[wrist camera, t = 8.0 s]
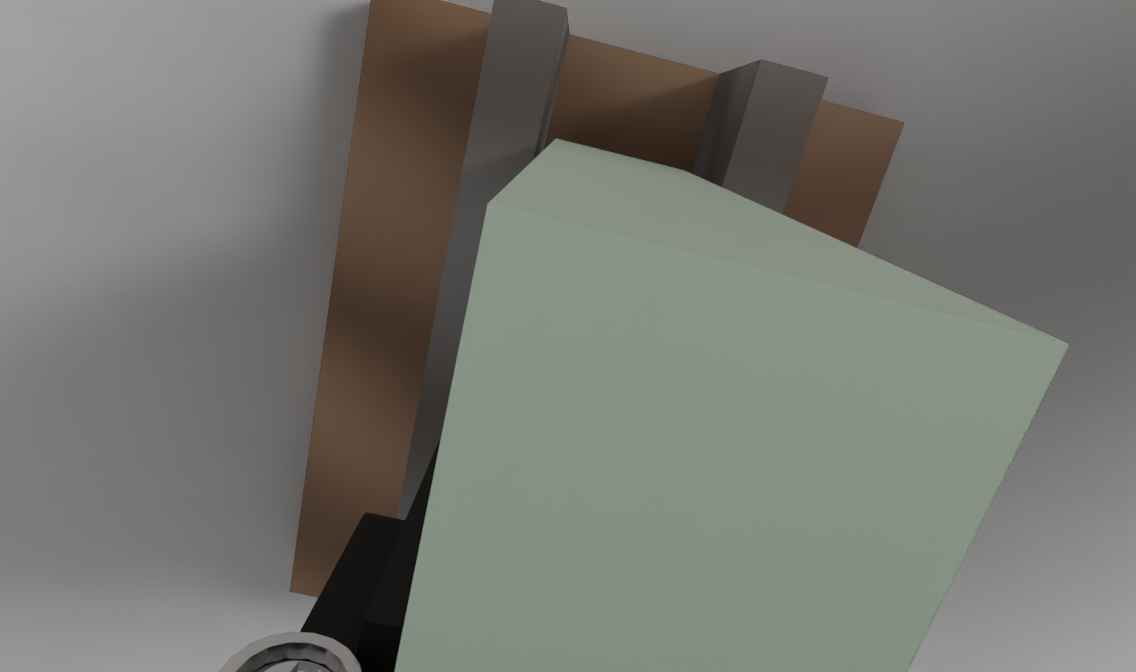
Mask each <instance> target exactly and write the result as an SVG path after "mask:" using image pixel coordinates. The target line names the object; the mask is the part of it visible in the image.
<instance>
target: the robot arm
mask: <svg viewBox="0 0 1136 672" xmlns="http://www.w3.org/2000/svg"><path fill="white" fill-rule="evenodd" d="M439 445H440V441H439V442H438V444H437V447H436V449H435V451H434V454H433V456H432V458H431V461H430V463H429V465H428V468H427V470H426V472H425V475H424V477H423V480H422V482H421V484H420V487H419V489H418V491H417V494H416V496H415V498H414V501H413V503H412V505H411V508H410V510H409V512H408V515H407V517H406V520H401V519H397V518H392V517H387V516H383V515H378V514H373V513H368V512H367V513H365V514H364V515H363V517H362V518H361V520H360V521H359V523H358V525H357V527H356V529H355V531H354V533H353V534H352V536H351V538H350V540H349V542H348V544H347V546H346V547H345V549H344V551H343V553H342V555H341V557H340V559H339V560H338V562H337V564H336V566H335V568H334V570H333V572H332V573H331V575H330V577H329V579H328V581H327V583H326V585H325V586H324V588H323V590H322V592H321V594H320V596H319V598H318V599H317V601H316V603H315V605H314V607H313V609H312V611H311V612H310V614H309V616H308V618H307V620H306V622H305V624H304V625H303V627H302V629H301V631H300V632H288V633H282V634H277V635H271V636H268V637H266V638H263V639H261V640H258V641H256V642H253V643H251V644H249V645H248V646H246V647H245V648H243V649H242V650H240V651H239V652H238V653H236V654H235V655H233V656H232V657H231V658H230V659H229V661H228V662H227V663H226V664H225V665H224V667H223V668H222V669H221V670H220V672H394V671H395V666H396V661H397V656H398V651H399V646H400V641H401V636H402V631H403V626H404V621H405V616H406V611H407V606H408V601H409V596H410V591H411V586H412V581H413V576H414V571H415V566H416V561H417V556H418V551H419V546H420V541H421V536H422V531H423V526H424V521H425V516H426V511H427V506H428V501H429V495H430V490H431V485H432V480H433V475H434V470H435V465H436V460H437V455H438V450H439Z"/></svg>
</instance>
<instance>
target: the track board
mask: <svg viewBox="0 0 1136 672" xmlns="http://www.w3.org/2000/svg"><path fill="white" fill-rule="evenodd" d="M827 80H828V77H825V76H821V75H817V74H814V73H810V72H806V71H802V70H799V69H795V68H791V67H787V66H783V65H780V64H776V63H772V62H768V61H765V60H759V61H756V62H753V63H750V64H747V65H744V66H741V67H738V68H736V69H733V70H730V71H727V72H724V73H721V74H718V73H714V72H711V71H707V70H703V69H699V68H695V67H692V66H688V65H684V64H680V63H676V62H672V61H669V60H665V59H661V58H657V57H653V56H650V55H646V54H642V53H638V52H634V51H631V50H627V49H623V48H619V47H615V46H612V45H608V44H604V43H600V42H596V41H592V40H589V39H585V38H581V37H577V36H573V35H570V34H569V25H568V16H567V8H564V7H561V6H557V5H553V4H549V3H546V2H542V1H538V0H494V4H493V10H492V14H490V13H486V12H482V11H478V10H474V9H471V8H467V7H463V6H459V5H455V4H452V3H448V2H444V1H440V0H371V4H370V12H369V19H368V26H367V34H366V41H365V48H364V55H363V63H362V70H361V77H360V84H359V92H358V99H357V106H356V114H355V121H354V128H353V135H352V143H351V150H350V157H349V165H348V172H347V179H346V186H345V194H344V201H343V208H342V216H341V223H340V230H339V237H338V245H337V252H336V259H335V266H334V274H333V281H332V288H331V296H330V303H329V310H328V317H327V325H326V332H325V339H324V347H323V354H322V361H321V368H320V376H319V383H318V390H317V398H316V405H315V412H314V419H313V427H312V434H311V441H310V449H309V456H308V463H307V470H306V478H305V485H304V492H303V499H302V507H301V514H300V521H299V529H298V536H297V543H296V550H295V558H294V565H293V572H292V580H291V587H290V592H295V593H300V594H304V595H309V596H314V597H319V596H320V594H321V592H322V590H323V588H324V586H325V585H326V583H327V581H328V579H329V577H330V575H331V573H332V572H333V570H334V568H335V566H336V564H337V562H338V560H339V559H340V557H341V555H342V553H343V551H344V549H345V547H346V546H347V544H348V542H349V540H350V538H351V536H352V534H353V533H354V531H355V529H356V527H357V525H358V523H359V521H360V520H361V518H362V517H363V515H364V514H365V513H367V512H368V513H373V514H378V515H383V516H387V517H392V518H397V519H401V520H406V517H407V515H408V512H409V510H410V508H411V505H412V503H413V501H414V498H415V496H416V494H417V491H418V489H419V487H420V484H421V482H422V480H423V477H424V475H425V472H426V470H427V468H428V465H429V463H430V461H431V458H432V456H433V454H434V451H435V449H436V447H437V444H438V442H439V441H440V440H441V435H442V430H443V425H444V420H445V415H446V410H447V405H448V400H449V395H450V390H451V385H452V380H453V375H454V370H455V365H456V360H457V355H458V350H459V345H460V340H461V335H462V330H463V325H464V320H465V315H466V310H467V305H468V300H469V295H470V290H471V285H472V280H473V274H474V269H475V264H476V259H477V254H478V249H479V244H480V239H481V234H482V229H483V224H484V219H485V214H486V209H487V204H488V203H489V202H490V201H491V200H492V199H493V198H494V197H495V196H496V195H497V194H498V193H499V192H500V191H501V190H503V189H504V188H505V187H506V186H507V185H508V184H509V183H510V182H511V181H512V180H513V179H514V178H515V177H516V176H517V175H518V174H519V173H520V172H521V171H522V170H523V169H525V168H526V167H527V166H528V165H529V164H530V163H531V162H532V161H533V160H534V159H535V158H536V157H537V156H538V155H539V154H540V153H541V152H542V151H543V150H544V149H545V148H547V147H548V146H549V145H550V144H551V143H552V142H553V141H554V140H555V139H556V138H557V139H561V140H565V141H569V142H573V143H577V144H581V145H585V146H589V147H593V148H597V149H601V150H605V151H609V152H613V153H617V154H621V155H625V156H629V157H633V158H637V159H641V160H645V161H649V162H653V163H657V164H661V165H665V166H669V167H673V168H677V169H681V170H685V171H687V172H689V173H691V174H693V175H696V176H698V177H700V178H702V179H705V180H707V181H709V182H711V183H713V184H716V185H718V186H720V187H722V188H725V189H727V190H729V191H731V192H733V193H736V194H738V195H740V196H742V197H744V198H747V199H749V200H751V201H753V202H756V203H758V204H760V205H762V206H764V207H767V208H769V209H771V210H773V211H776V212H778V213H780V214H782V215H784V216H787V217H789V218H791V219H793V220H796V221H798V222H800V223H802V224H804V225H807V226H809V227H811V228H813V229H815V230H818V231H820V232H822V233H824V234H827V235H829V236H831V237H833V238H835V239H838V240H840V241H842V242H844V243H847V244H849V245H851V246H853V247H855V248H857V246H858V244H859V241H860V239H861V236H862V233H863V231H864V228H865V225H866V223H867V220H868V217H869V215H870V212H871V210H872V207H873V204H874V202H875V199H876V196H877V194H878V191H879V188H880V186H881V183H882V180H883V178H884V175H885V173H886V170H887V167H888V165H889V162H890V159H891V157H892V154H893V151H894V149H895V146H896V143H897V141H898V138H899V136H900V133H901V130H902V128H903V125H904V122H901V121H897V120H893V119H890V118H886V117H882V116H878V115H874V114H871V113H867V112H863V111H859V110H855V109H851V108H848V107H844V106H840V105H836V104H832V103H829V102H825V101H821V98H822V95H823V92H824V89H825V86H826V83H827Z"/></svg>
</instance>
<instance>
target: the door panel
mask: <svg viewBox="0 0 1136 672" xmlns="http://www.w3.org/2000/svg"><path fill="white" fill-rule="evenodd" d="M1068 346H1069V344H1068V343H1066V342H1064V341H1062V340H1060V339H1057V338H1055V337H1053V336H1051V335H1048V334H1046V333H1044V332H1042V331H1040V330H1037V329H1035V328H1033V327H1031V326H1029V325H1026V324H1024V323H1022V322H1020V321H1017V320H1015V319H1013V318H1011V317H1009V316H1006V315H1004V314H1002V313H1000V312H997V311H995V310H993V309H991V308H989V307H986V306H984V305H982V304H980V303H977V302H975V301H973V300H971V299H969V298H966V297H964V296H962V295H960V294H957V293H955V292H953V291H951V290H949V289H946V288H944V287H942V286H940V285H938V284H935V283H933V282H931V281H929V280H926V279H924V278H922V277H920V276H918V275H915V274H913V273H911V272H909V271H906V270H904V269H902V268H900V267H898V266H895V265H893V264H891V263H889V262H886V261H884V260H882V259H880V258H878V257H875V256H873V255H871V254H869V253H867V252H864V251H862V250H860V249H858V248H855V247H853V246H851V245H849V244H847V243H844V242H842V241H840V240H838V239H835V238H833V237H831V236H829V235H827V234H824V233H822V232H820V231H818V230H815V229H813V228H811V227H809V226H807V225H804V224H802V223H800V222H798V221H796V220H793V219H791V218H789V217H787V216H784V215H782V214H780V213H778V212H776V211H773V210H771V209H769V208H767V207H764V206H762V205H760V204H758V203H756V202H753V201H751V200H749V199H747V198H744V197H742V196H740V195H738V194H736V193H733V192H731V191H729V190H727V189H725V188H722V187H720V186H718V185H716V184H713V183H711V182H709V181H707V180H705V179H702V178H700V177H698V176H696V175H693V174H691V173H689V172H687V171H685V170H681V169H677V168H673V167H669V166H665V165H661V164H657V163H653V162H649V161H645V160H641V159H637V158H633V157H629V156H625V155H621V154H617V153H613V152H609V151H605V150H601V149H597V148H593V147H589V146H585V145H581V144H577V143H573V142H569V141H565V140H561V139H557V138H556V139H555V140H554V141H553V142H552V143H551V144H550V145H549V146H548V147H547V148H545V149H544V150H543V151H542V152H541V153H540V154H539V155H538V156H537V157H536V158H535V159H534V160H533V161H532V162H531V163H530V164H529V165H528V166H527V167H526V168H525V169H523V170H522V171H521V172H520V173H519V174H518V175H517V176H516V177H515V178H514V179H513V180H512V181H511V182H510V183H509V184H508V185H507V186H506V187H505V188H504V189H503V190H501V191H500V192H499V193H498V194H497V195H496V196H495V197H494V198H493V199H492V200H491V201H490V202H489V203H488V204H487V209H486V214H485V219H484V224H483V229H482V234H481V239H480V244H479V249H478V254H477V259H476V264H475V269H474V274H473V280H472V285H471V290H470V295H469V300H468V305H467V310H466V315H465V320H464V325H463V330H462V335H461V340H460V345H459V350H458V355H457V360H456V365H455V370H454V375H453V380H452V385H451V390H450V395H449V400H448V405H447V410H446V415H445V420H444V425H443V430H442V435H441V440H440V445H439V450H438V455H437V460H436V465H435V470H434V475H433V480H432V485H431V490H430V495H429V501H428V506H427V511H426V516H425V521H424V526H423V531H422V536H421V541H420V546H419V551H418V556H417V561H416V566H415V571H414V576H413V581H412V586H411V591H410V596H409V601H408V606H407V611H406V616H405V621H404V626H403V631H402V636H401V641H400V646H399V651H398V656H397V661H396V666H395V671H394V672H907V670H908V668H909V666H910V664H911V662H912V660H913V658H914V656H915V654H916V652H917V650H918V648H919V646H920V644H921V642H922V640H923V638H924V636H925V634H926V632H927V630H928V628H929V626H930V624H931V622H932V620H933V618H934V616H935V614H936V612H937V610H938V608H939V606H940V604H941V602H942V600H943V598H944V596H945V594H946V592H947V590H948V588H949V586H950V584H951V582H952V580H953V578H954V576H955V574H956V571H957V569H958V567H959V565H960V563H961V561H962V559H963V557H964V555H965V553H966V551H967V549H968V547H969V545H970V543H971V541H972V539H973V537H974V535H975V533H976V531H977V529H978V527H979V525H980V523H981V521H982V519H983V517H984V515H985V513H986V511H987V509H988V507H989V505H990V503H991V501H992V499H993V497H994V495H995V493H996V491H997V489H998V487H999V485H1000V483H1001V481H1002V479H1003V477H1004V475H1005V473H1006V471H1007V469H1008V467H1009V465H1010V463H1011V461H1012V459H1013V457H1014V455H1015V453H1016V451H1017V449H1018V447H1019V445H1020V443H1021V441H1022V438H1023V436H1024V434H1025V432H1026V430H1027V428H1028V426H1029V424H1030V422H1031V420H1032V418H1033V416H1034V414H1035V412H1036V410H1037V408H1038V406H1039V404H1040V402H1041V400H1042V398H1043V396H1044V394H1045V392H1046V390H1047V388H1048V386H1049V384H1050V382H1051V380H1052V378H1053V376H1054V374H1055V372H1056V370H1057V368H1058V366H1059V364H1060V362H1061V360H1062V358H1063V356H1064V354H1065V352H1066V350H1067V348H1068Z"/></svg>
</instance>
